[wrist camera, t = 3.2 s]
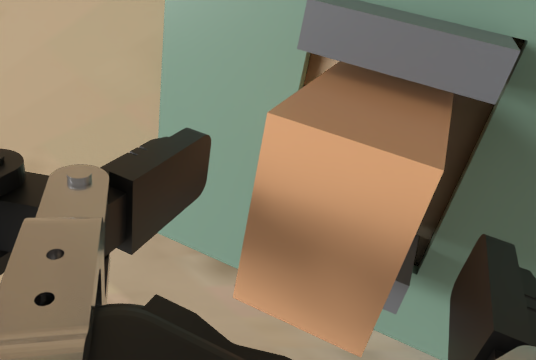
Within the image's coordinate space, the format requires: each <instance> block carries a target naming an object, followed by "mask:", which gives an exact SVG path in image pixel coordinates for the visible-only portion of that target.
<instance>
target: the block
mask: <svg viewBox="0 0 536 360" xmlns="http://www.w3.org/2000/svg"><path fill="white" fill-rule="evenodd" d="M453 97H454V93H451V92H448V91H444V90H441V89H437V88H434V87H430V86H426V85H423V84H419V83H416V82H412V81H409V80H405V79H402V78H398V77H394V76H391V75H387V74H384V73H380V72H377V71H373V70H370V69H366V68H363V67H359V66H355V65H352V64H348V63H345V62H341V61H340V62H338V63H337V64H335V65H334V66H333V67H331V68H330V69H328V70H327V71H325V72H324V73H323V74H321V75H320V76H318V77H317V78H315V79H314V80H313V81H311V82H310V83H308V84H307V85H305V86H304V87H303V88H301V89H300V90H298V91H297V92H296V93H294V94H293V95H291V96H290V97H288V98H287V99H286V100H284V101H283V102H281V103H280V104H278V105H277V106H276V107H274V108H273V109H271V110H270V111H268V112H267V117H266V122H265V127H264V133H263V138H262V144H261V149H260V154H259V160H258V165H257V171H256V176H255V181H254V187H253V192H252V198H251V203H250V208H249V214H248V219H247V224H246V230H245V235H244V241H243V246H242V251H241V257H240V262H239V268H238V273H237V278H236V284H235V289H234V295H233V298H235V299H237V300H239V301H241V302H243V303H246V304H248V305H250V306H252V307H254V308H256V309H258V310H260V311H263V312H265V313H267V314H269V315H271V316H273V317H275V318H278V319H280V320H282V321H284V322H286V323H288V324H290V325H293V326H295V327H297V328H299V329H301V330H303V331H305V332H307V333H310V334H312V335H314V336H316V337H318V338H320V339H322V340H325V341H327V342H329V343H331V344H333V345H335V346H337V347H340V348H342V349H344V350H346V351H348V352H350V353H352V354H354V355H357V356H359V357H361V356H362V354H363V352H364V349H365V347H366V345H367V343H368V340H369V338H370V336H371V334H372V331H373V329H374V327H375V325H376V322H377V320H378V318H379V316H380V313H381V311H382V309H383V307H384V304H385V302H386V300H387V298H388V295H389V293H390V291H391V289H392V286H393V284H394V282H395V280H396V277H397V275H398V273H399V271H400V268H401V266H402V264H403V262H404V259H405V257H406V255H407V253H408V250H409V248H410V246H411V244H412V241H413V239H414V237H415V235H416V232H417V230H418V228H419V226H420V224H421V221H422V219H423V217H424V215H425V212H426V210H427V208H428V206H429V203H430V201H431V199H432V197H433V194H434V192H435V190H436V188H437V185H438V183H439V181H440V179H441V176H442V174H443V172H444V167H445V159H446V151H447V144H448V136H449V128H450V120H451V112H452V105H453Z"/></svg>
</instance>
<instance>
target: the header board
mask: <svg viewBox="0 0 536 360" xmlns="http://www.w3.org/2000/svg"><path fill="white" fill-rule="evenodd" d="M512 37H515V38H519V39H523V40H525V42H524V44H523V46H522V48H521V51H520V49H519V48H518V46H517V44H516V43H515V41H514V40H513V38H512ZM311 53H313V54H316V55H320V56H323V57H327V58H331V59H334V60H338V61H341V62H345V63H348V64H352V65H355V66H359V67H363V68H366V69H370V70H373V71H377V72H380V73H384V74H387V75H391V76H394V77H398V78H402V79H405V80H409V81H412V82H416V83H419V84H423V85H426V86H430V87H434V88H437V89H441V90H444V91H448V92H451V93H455V94H458V95H462V96H466V97H469V98H473V99H476V100H480V101H483V102H487V103H490V104H494V105H495V106H494V108H493V110H492V112H491V114H490V116H489V118H488V120H487V123H486V125H485V127H484V129H483V131H482V133H481V135H480V137H479V139H478V142H477V144H476V146H475V148H474V150H473V152H472V154H471V156H470V158H469V161H468V163H467V165H466V167H465V169H464V171H463V173H462V175H461V178H460V180H459V182H458V184H457V186H456V188H455V190H454V192H453V194H452V197H451V199H450V201H449V203H448V205H447V207H446V209H445V211H444V214H443V216H442V218H441V220H440V222H439V224H438V226H437V228H436V230H435V233H434V235H433V237H432V239H431V241H430V243H429V245H428V247H427V249H426V252H425V254H424V256H423V258H422V260H421V262H420V264H419V266H415V265H414V260H415V255H416V249H417V244H418V239H419V236H417V235H415V237H414V239H413V241H412V244H411V246H410V248H409V250H408V253H407V255H406V257H405V259H404V262H403V264H402V266H401V268H400V271H399V273H398V275H397V277H396V280H395V282H394V284H393V286H392V289H391V291H390V293H389V295H388V298H387V300H386V302H385V304H384V307H383V309H382V311H381V313H380V316H379V318H378V320H377V322H376V325H375V327H374V329H373V330H375V331H378V332H380V333H382V334H384V335H386V336H389V337H391V338H393V339H395V340H398V341H400V342H402V343H404V344H407V345H409V346H411V347H413V348H416V349H418V350H420V351H422V352H424V353H427V354H429V355H431V356H433V357H436V358H438V359H440V360H448V343H449V317H450V297H451V292H452V289H453V286H454V283H455V281H456V279H457V277H458V275H459V273H460V271H461V269H462V268H463V266H464V264H465V262H466V260H467V258H468V257H469V255H470V253H471V251H472V249H473V247H474V246H475V244H476V242H477V240H478V239H479V237H480V236H481V235H482V234H486V235H489V236H491V237H494V238H497V239H500V240H503V241H505V242H508V243H511V244H514V245H515V248H516V254H517V259H518V264H519V267H521V268H524V269H527V270H529V271H531V273H532V274H533V275H534V277H535V278H536V0H165V13H164V33H163V54H162V74H161V95H160V115H159V135H158V138H162V137H170V136H172V135H174V134H175V133H177V132H179V131H181V130H182V129H184V128H191V129H193V130H196V131H199V132H202V133H205V134H207V135H209V136H210V137H211V150H210V158H209V166H208V174H207V181H206V185H205V188H204V190H203V192H202V193H201V195H200V196H199V197H198V198H197V199H196V200H195V201H194V202H193V203H191V204H190V205H189V206H188V207H187V208H186V209H184V210H183V211H182V212H181V213H180V214H179V215H177V216H176V217H175V218H174V219H173V220H172V221H170V222H169V223H168V224H167V225H166V226H165V227H163V228H162V229H161V230H160V231H159V232H158V233H159V234H161V235H163V236H165V237H168V238H170V239H172V240H174V241H176V242H179V243H181V244H183V245H185V246H188V247H190V248H192V249H194V250H197V251H199V252H201V253H203V254H206V255H208V256H210V257H212V258H214V259H217V260H219V261H221V262H223V263H226V264H228V265H230V266H232V267H235V268H237V269H238V268H239V262H240V257H241V251H242V246H243V241H244V235H245V230H246V224H247V219H248V214H249V208H250V203H251V198H252V192H253V187H254V181H255V176H256V171H257V165H258V160H259V154H260V149H261V144H262V138H263V133H264V127H265V122H266V117H267V112H268V111H270V110H271V109H273V108H274V107H276V106H277V105H278V104H280V103H281V102H283V101H284V100H286V99H287V98H288V97H290V96H291V95H293V94H294V93H296V92H297V91H298V90H300V89H301V88H303V85H304V81H305V76H306V72H307V67H308V63H309V59H310V54H311Z"/></svg>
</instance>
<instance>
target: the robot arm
mask: <svg viewBox="0 0 536 360" xmlns="http://www.w3.org/2000/svg"><path fill="white" fill-rule="evenodd" d="M210 150H211V137H210V136H209V135H207V134H205V133H202V132H199V131H196V130H193V129H191V128H184V129H182V130H181V131H179V132H177V133H175V134H174V135H172V136H170V137H162V138H158V139H153V140H150V141H148V142H146V143H145V144H143V145H141V146H140V147H139V148H138V147H137V148H135V149H134V150H132V151H130V153H126V154H124V155H123V156H121V157H119V158H117V159H115V160H113V161H112V162H110V163H108V164H106V165H104V166H102V167H100V168H99V167H96V166H92V165H84V164H77V165H69V166H65V167H62V168H59V169H57V170H55V171H54V172H52V173H51V175H50V176H47V175H42V174H36V173H30V172H25V168H24V160H23V157H22V156H21V155H20V154H19V153H17V152H15V151H11V150H7V149H0V275H1V274H3V273H4V275H3V278H2V280H1V283H0V360H292V359H290V358H287V357H285V356H282V355H277V354H273V353H269V352H265V351H260V350H256V349H252V348H248V347H244V346H239V345H236V344H234V343H232V342H230V341H229V340H227V339H226V338H225V337H224V336H223V335H221V334H220V333H219V332H218V331H217V330H215V329H214V328H213V327H212V326H210V325H209V324H208V323H207V322H206V321H204V320H203V319H202V318H201V317H199V316H198V315H197V314H196V313H194V312H192V311H190V310H188V309H186V308H184V307H182V306H179V305H177V304H175V303H173V302H171V301H169V300H167V299H165V298H163V297H161V296H159V295H157V294H156V295H155V296H154V297H153V298H152V299H151V300H150V301H149V302H148V303H147V304H146V305H145V306H142V305H135V304H107V293H108V281H109V269H110V252H111V251H113V250H114V249H115V248H118V249H120V250H122V251H124V252H126V253H129V254H131V255H132V254H133V253H134V252H136V251H137V250H138V249H139V248H140V247H141V246H143V245H144V244H145V243H146V242H147V241H148V240H150V239H151V238H152V237H153V236H154V235H155V234H157V233H158V232H159V231H160V230H161V229H162V228H163V227H165V226H166V225H167V224H168V223H169V222H170V221H172V220H173V219H174V218H175V217H176V216H177V215H179V214H180V213H181V212H182V211H183V210H184V209H186V208H187V207H188V206H189V205H190V204H191V203H193V202H194V201H195V200H196V199H197V198H198V197H199V196H200V195H201V193H202V192H203V190H204V188H205V185H206V181H207V174H208V166H209V158H210ZM448 360H536V278H535V277H534V275H533V274H532V273H531V271H529V270H527V269H524V268H521V267H519V264H518V259H517V254H516V248H515V245H514V244H511V243H508V242H505V241H503V240H500V239H497V238H494V237H491V236H489V235H486V234H482V235H481V236H480V237H479V239H478V240H477V242H476V244H475V246H474V247H473V249H472V251H471V253H470V255H469V257H468V258H467V260H466V262H465V264H464V266H463V268H462V269H461V271H460V273H459V275H458V277H457V279H456V281H455V283H454V286H453V289H452V292H451V297H450V317H449V343H448Z"/></svg>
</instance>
